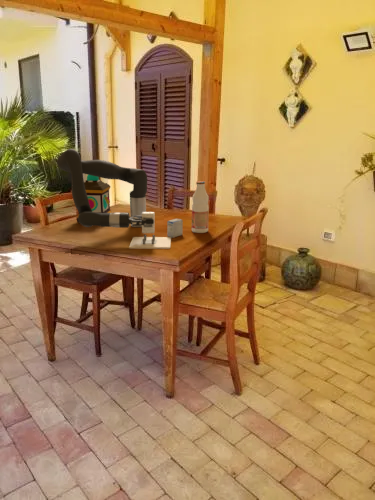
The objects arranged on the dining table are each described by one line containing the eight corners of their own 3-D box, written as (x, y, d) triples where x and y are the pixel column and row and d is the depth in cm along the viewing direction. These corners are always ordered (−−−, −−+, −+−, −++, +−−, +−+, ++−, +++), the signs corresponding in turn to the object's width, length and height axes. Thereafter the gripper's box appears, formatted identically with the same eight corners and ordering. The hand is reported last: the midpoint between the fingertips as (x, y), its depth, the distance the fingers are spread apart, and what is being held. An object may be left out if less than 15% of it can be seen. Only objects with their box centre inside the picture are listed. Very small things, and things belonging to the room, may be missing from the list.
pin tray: (133, 238, 217) (133, 232, 216) (171, 238, 217) (171, 232, 216) (129, 248, 200) (128, 241, 199) (170, 248, 200) (170, 242, 199)
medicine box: (176, 233, 227) (176, 218, 225) (182, 235, 225) (182, 219, 222) (167, 236, 221) (166, 220, 219) (173, 237, 219) (173, 222, 216)
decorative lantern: (85, 216, 265) (82, 169, 256) (115, 217, 263) (113, 170, 254) (74, 224, 246) (70, 173, 237) (106, 225, 244) (103, 174, 235)
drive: (142, 231, 208) (142, 211, 205) (154, 231, 208) (154, 212, 206) (142, 233, 204) (141, 213, 202) (154, 233, 205) (153, 213, 202)
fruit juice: (200, 234, 226) (201, 183, 218) (188, 231, 232) (188, 181, 224) (211, 231, 233) (212, 181, 225) (199, 228, 239) (199, 180, 231)
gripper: (117, 215, 197) (152, 216, 197) (121, 209, 210) (154, 210, 210) (117, 230, 199) (153, 231, 199) (121, 224, 212) (154, 224, 213)
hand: (153, 220), depth 205 cm, fingers closed on drive, 4 cm apart
